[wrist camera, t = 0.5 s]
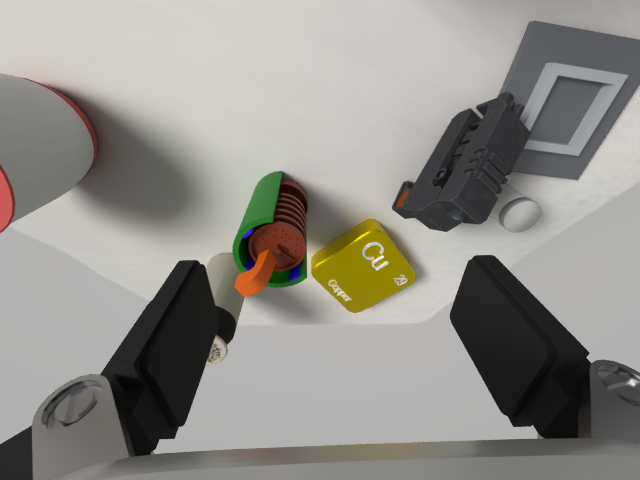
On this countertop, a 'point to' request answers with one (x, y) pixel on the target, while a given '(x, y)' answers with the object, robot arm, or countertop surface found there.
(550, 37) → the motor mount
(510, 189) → the white domed cylinder
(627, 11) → the countertop surface
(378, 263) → the element tile
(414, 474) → the robot arm
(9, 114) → the citrus juicer
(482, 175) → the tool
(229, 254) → the travel mug
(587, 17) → the countertop surface
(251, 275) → the motor
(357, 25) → the countertop surface
